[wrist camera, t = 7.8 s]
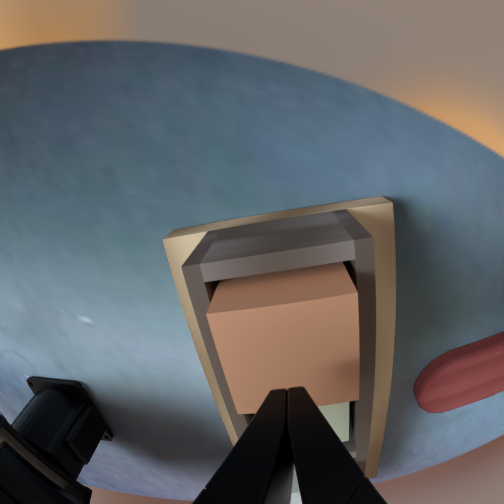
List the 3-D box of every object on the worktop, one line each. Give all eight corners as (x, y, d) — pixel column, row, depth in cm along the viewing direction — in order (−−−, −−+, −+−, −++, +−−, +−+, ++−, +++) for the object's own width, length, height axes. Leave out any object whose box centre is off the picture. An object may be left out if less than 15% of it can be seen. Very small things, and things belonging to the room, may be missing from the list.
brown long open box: (254, 477, 22) (249, 530, 17) (172, 230, 15) (123, 275, 10) (373, 462, 20) (383, 515, 15) (381, 196, 14) (434, 227, 9)
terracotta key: (246, 360, 12) (237, 414, 10) (223, 270, 11) (206, 314, 8) (344, 347, 12) (358, 399, 9) (337, 253, 11) (357, 292, 8)
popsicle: (557, 365, 15) (413, 423, 17) (548, 356, 17) (407, 408, 19) (576, 312, 13) (425, 368, 15) (565, 303, 15) (417, 352, 17)
